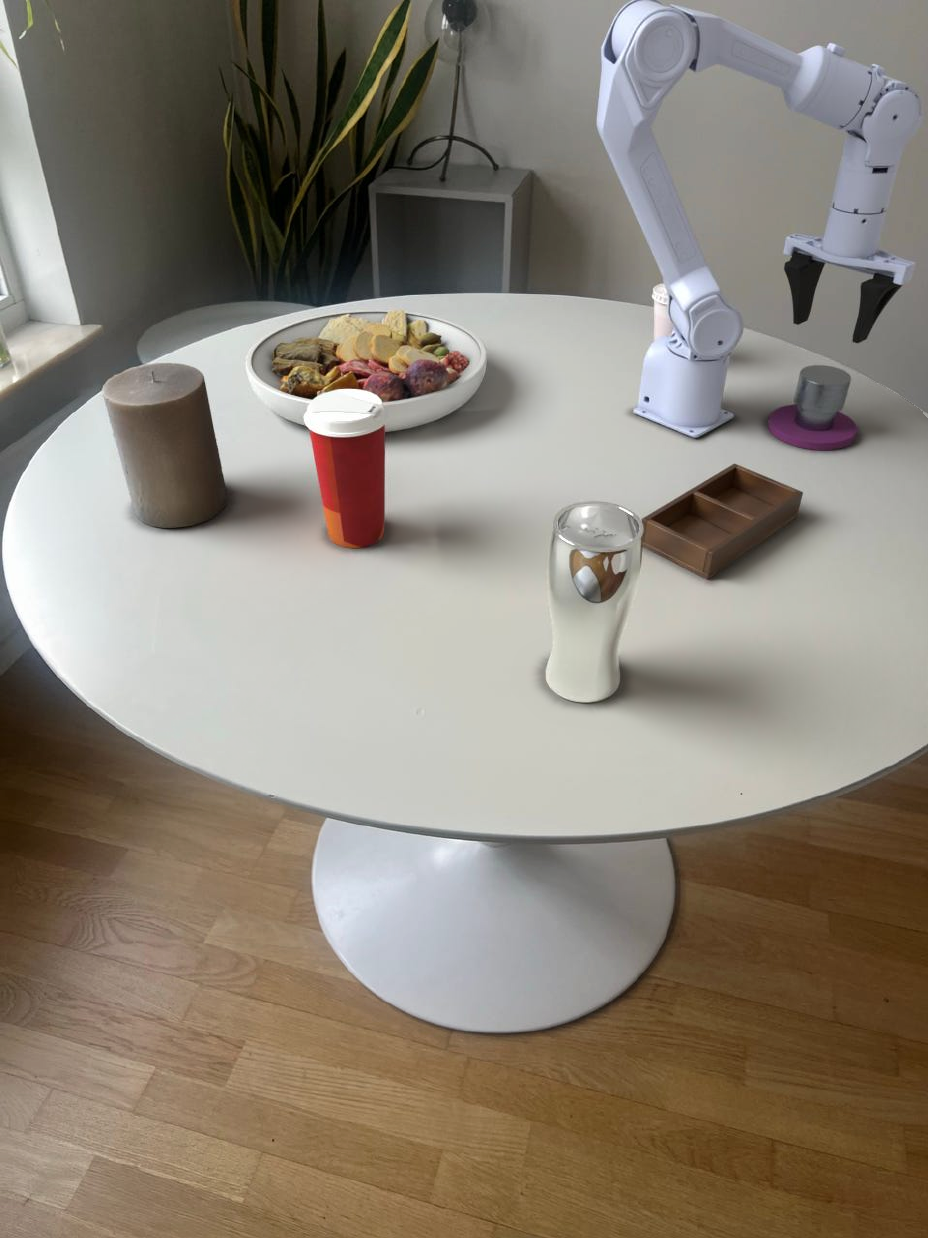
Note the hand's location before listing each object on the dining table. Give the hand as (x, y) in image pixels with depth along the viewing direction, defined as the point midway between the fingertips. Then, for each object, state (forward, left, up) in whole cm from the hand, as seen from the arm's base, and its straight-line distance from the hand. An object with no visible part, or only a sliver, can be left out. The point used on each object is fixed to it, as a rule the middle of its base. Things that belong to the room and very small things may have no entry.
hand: (829, 330), depth 108 cm
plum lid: (+2, -4, -10) cm, 11 cm away
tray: (+7, -30, -10) cm, 33 cm away
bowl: (-43, -35, -11) cm, 56 cm away
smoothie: (-22, 0, -11) cm, 24 cm away
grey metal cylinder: (+3, -4, -9) cm, 10 cm away
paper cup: (-18, -57, -11) cm, 60 cm away
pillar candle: (-35, -67, -11) cm, 76 cm away
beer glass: (+12, -57, -11) cm, 59 cm away
